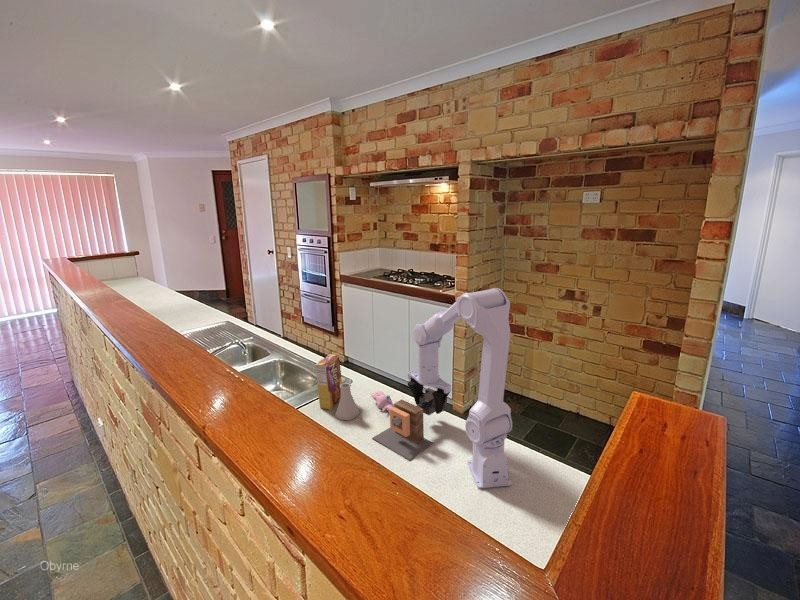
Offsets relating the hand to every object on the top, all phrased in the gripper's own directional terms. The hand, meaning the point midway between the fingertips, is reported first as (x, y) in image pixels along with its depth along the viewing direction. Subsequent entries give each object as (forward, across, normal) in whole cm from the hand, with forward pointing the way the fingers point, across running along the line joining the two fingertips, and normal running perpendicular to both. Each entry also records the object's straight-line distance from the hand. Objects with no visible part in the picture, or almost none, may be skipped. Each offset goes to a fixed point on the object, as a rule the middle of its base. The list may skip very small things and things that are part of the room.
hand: (428, 407), depth 113 cm
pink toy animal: (+6, +16, +2) cm, 17 cm away
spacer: (+2, 0, +12) cm, 12 cm away
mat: (+5, 0, +11) cm, 12 cm away
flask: (+6, +22, +12) cm, 26 cm away
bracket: (+5, 0, +8) cm, 10 cm away
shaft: (+1, 0, +5) cm, 5 cm away
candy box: (+6, +33, +11) cm, 35 cm away
